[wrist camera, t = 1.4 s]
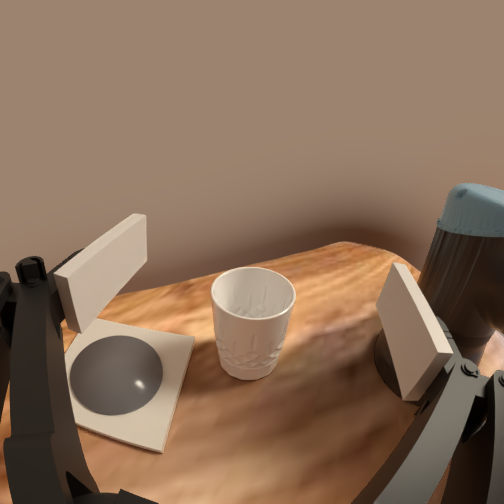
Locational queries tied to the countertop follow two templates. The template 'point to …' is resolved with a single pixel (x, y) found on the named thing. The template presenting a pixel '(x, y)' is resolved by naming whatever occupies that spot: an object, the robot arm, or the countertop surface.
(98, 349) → the trivet
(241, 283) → the white cup
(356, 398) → the countertop surface
